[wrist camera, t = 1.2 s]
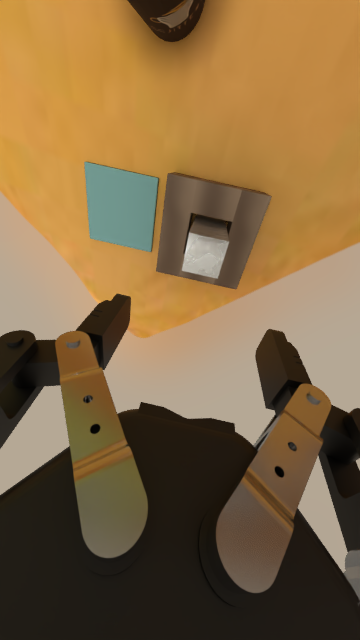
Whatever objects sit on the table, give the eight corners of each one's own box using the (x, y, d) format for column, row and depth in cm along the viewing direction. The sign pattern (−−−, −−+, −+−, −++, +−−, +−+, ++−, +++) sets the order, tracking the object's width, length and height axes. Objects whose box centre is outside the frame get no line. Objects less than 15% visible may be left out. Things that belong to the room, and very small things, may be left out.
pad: (158, 178, 29) (157, 178, 28) (151, 250, 35) (150, 252, 34) (86, 161, 29) (84, 161, 28) (91, 237, 35) (89, 238, 34)
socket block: (263, 192, 28) (271, 196, 24) (233, 275, 35) (236, 289, 31) (174, 172, 28) (167, 173, 24) (162, 259, 35) (156, 271, 31)
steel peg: (224, 218, 30) (229, 241, 21) (217, 245, 33) (217, 278, 23) (197, 212, 30) (189, 232, 21) (191, 240, 33) (181, 270, 23)
